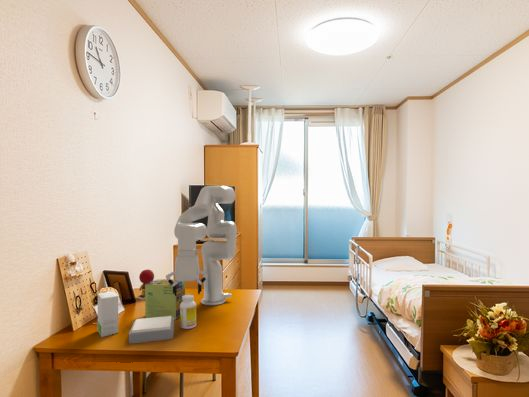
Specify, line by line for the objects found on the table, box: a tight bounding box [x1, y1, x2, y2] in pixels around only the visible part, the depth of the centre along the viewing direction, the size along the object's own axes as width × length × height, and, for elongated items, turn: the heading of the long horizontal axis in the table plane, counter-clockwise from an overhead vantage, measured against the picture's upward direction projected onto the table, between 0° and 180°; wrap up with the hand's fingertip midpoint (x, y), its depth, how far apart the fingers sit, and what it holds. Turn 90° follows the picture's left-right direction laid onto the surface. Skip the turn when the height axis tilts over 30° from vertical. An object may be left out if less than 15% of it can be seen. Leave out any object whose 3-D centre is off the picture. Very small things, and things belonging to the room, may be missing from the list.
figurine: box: [136, 269, 155, 301], centre depth 183 cm, size 9×10×15 cm
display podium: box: [128, 316, 175, 345], centre depth 133 cm, size 16×14×4 cm
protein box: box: [144, 278, 186, 321], centre depth 155 cm, size 10×15×16 cm
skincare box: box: [97, 290, 119, 338], centre depth 136 cm, size 8×7×16 cm
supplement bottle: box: [179, 294, 198, 330], centre depth 140 cm, size 7×7×13 cm
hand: (187, 294), depth 140 cm, fingers open, 9 cm apart
